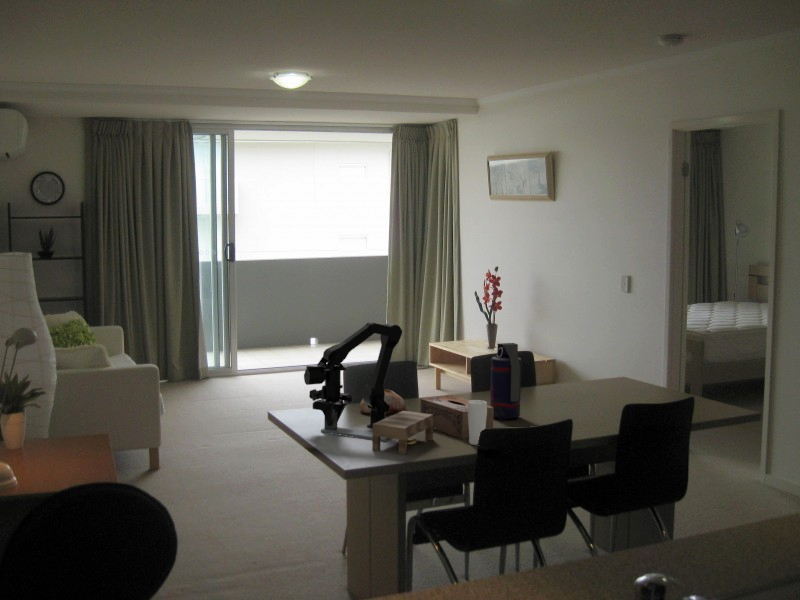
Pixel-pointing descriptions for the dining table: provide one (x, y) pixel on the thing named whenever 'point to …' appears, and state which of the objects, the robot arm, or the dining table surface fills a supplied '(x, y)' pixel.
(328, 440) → the dining table surface
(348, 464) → the dining table surface
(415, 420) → the wooden footstool
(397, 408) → the bread
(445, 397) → the tissue box cover
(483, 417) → the drinking glass
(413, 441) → the brass token
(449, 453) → the dining table surface
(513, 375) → the grenade
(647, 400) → the dining table surface
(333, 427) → the blade tool
